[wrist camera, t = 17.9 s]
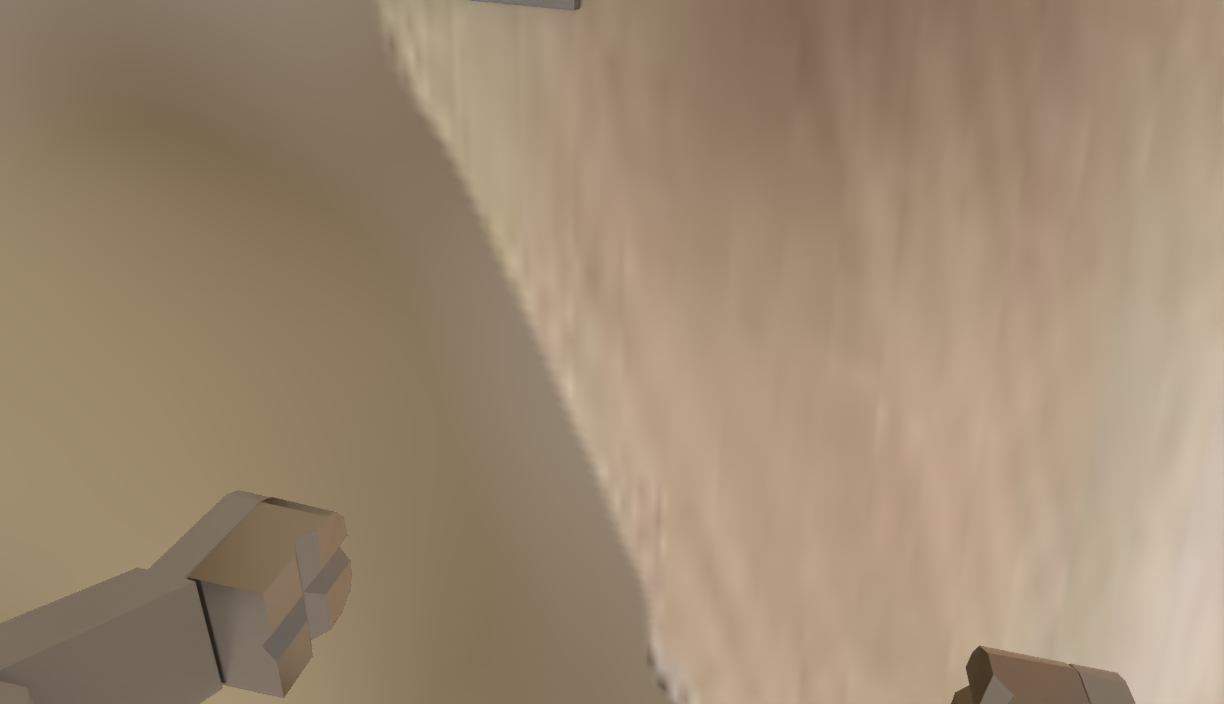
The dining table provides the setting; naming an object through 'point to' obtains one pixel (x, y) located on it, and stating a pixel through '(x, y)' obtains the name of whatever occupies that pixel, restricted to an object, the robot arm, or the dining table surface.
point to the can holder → (542, 3)
